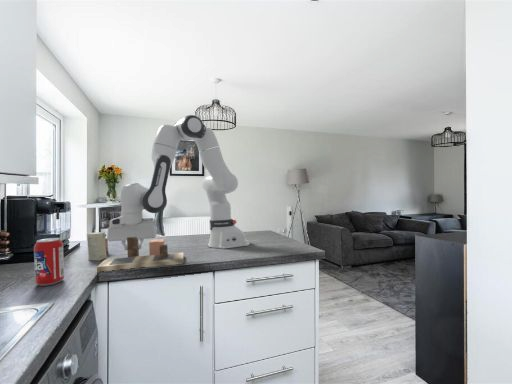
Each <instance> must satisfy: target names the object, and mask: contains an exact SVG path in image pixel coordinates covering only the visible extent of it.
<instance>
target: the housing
mask: <svg viewBox="0 0 512 384" xmlns="http://www.w3.org/2000/svg"><path fill="white" fill-rule="evenodd" d="M160 245H165V238H159V239H157V238H154V239H150V241H149V243H148V246H149V247H148V248H149V250H148V251H149V255H159V254H160Z"/></svg>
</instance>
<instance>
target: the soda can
mask: <svg viewBox="0 0 512 384" xmlns="http://www.w3.org/2000/svg"><path fill="white" fill-rule="evenodd" d="M33 255H34V256H33V257H34V258H33V259H34V260H33V261H34V282H35V283H34V284H35V285H37V286H41V287H47V286H53V285H56V284H59V283H60V282H61V281H63V280H64V279H65V266H64V265H65V263H64V259H65V258H64V242H63V241H62V240H61V238H60V237H50V238H43V239H42V238H41V239H38V240H36V243H35V244H34V245H33Z"/></svg>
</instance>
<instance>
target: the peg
mask: <svg viewBox="0 0 512 384" xmlns="http://www.w3.org/2000/svg"><path fill="white" fill-rule="evenodd" d="M126 243H127V244H126V245H127V250H126V251H127V257H136V256H140V249H138V245H140V244H139V239H137V237H129V238H127V240H126Z"/></svg>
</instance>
